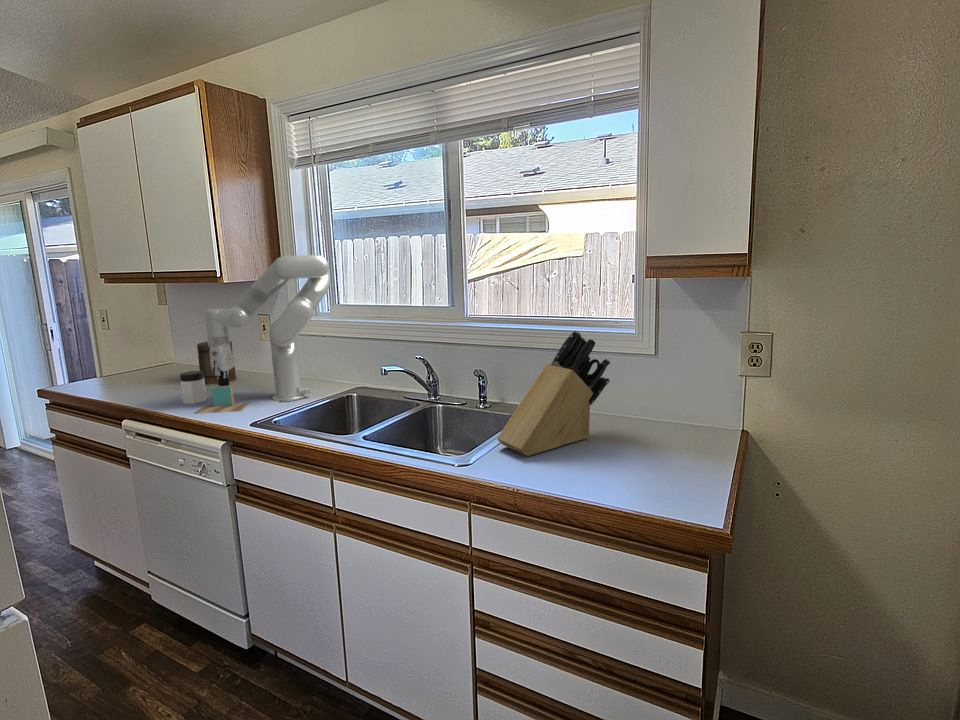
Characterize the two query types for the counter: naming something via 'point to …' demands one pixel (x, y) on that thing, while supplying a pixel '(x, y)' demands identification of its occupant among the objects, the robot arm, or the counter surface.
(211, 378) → the wooden container
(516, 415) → the knife block
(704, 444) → the counter surface
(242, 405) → the mat
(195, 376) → the jar
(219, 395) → the tile
